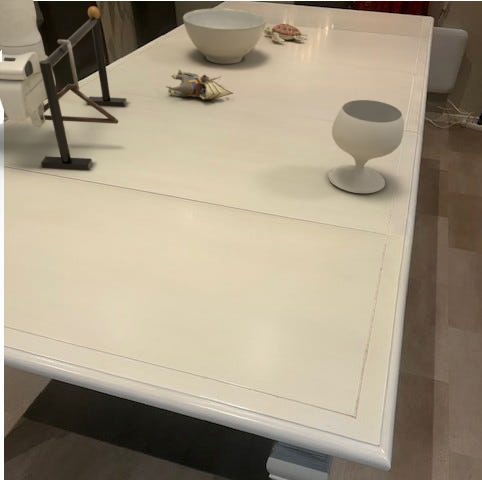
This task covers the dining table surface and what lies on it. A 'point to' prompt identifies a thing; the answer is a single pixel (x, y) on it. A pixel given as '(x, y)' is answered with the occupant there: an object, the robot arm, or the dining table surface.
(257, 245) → the dining table surface
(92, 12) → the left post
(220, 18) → the decorative bowl
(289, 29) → the decorative turtle
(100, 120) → the hanger
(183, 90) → the figurine
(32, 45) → the robot arm
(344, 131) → the chalice
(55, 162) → the rail
